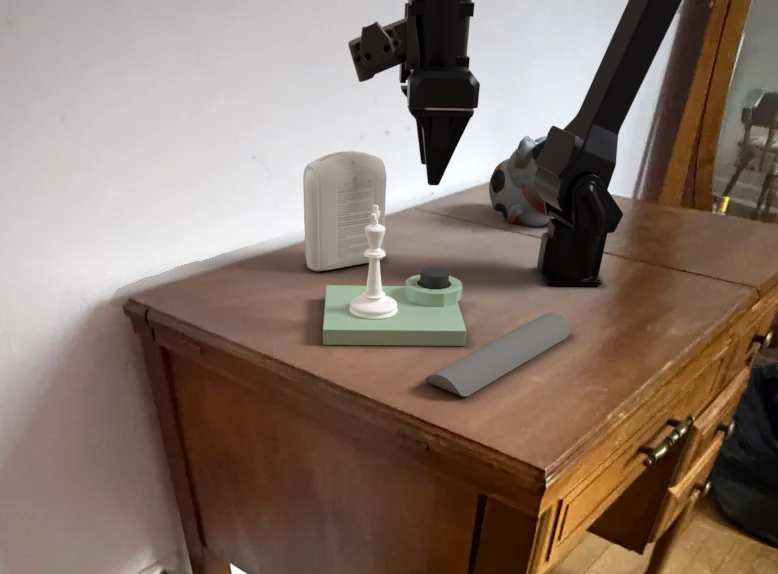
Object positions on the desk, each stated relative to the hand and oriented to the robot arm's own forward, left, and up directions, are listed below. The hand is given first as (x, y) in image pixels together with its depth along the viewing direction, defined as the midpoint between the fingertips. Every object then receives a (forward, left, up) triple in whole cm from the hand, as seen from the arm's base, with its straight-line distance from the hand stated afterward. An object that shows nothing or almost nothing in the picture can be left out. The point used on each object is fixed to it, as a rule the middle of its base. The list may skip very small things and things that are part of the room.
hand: (429, 174), depth 76 cm
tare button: (0, +7, -9) cm, 12 cm away
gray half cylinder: (-6, +19, -12) cm, 23 cm away
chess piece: (+6, +11, -11) cm, 16 cm away
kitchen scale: (+4, +10, -12) cm, 16 cm away
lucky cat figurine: (-20, -29, -12) cm, 37 cm away
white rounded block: (+9, -8, -12) cm, 17 cm away
